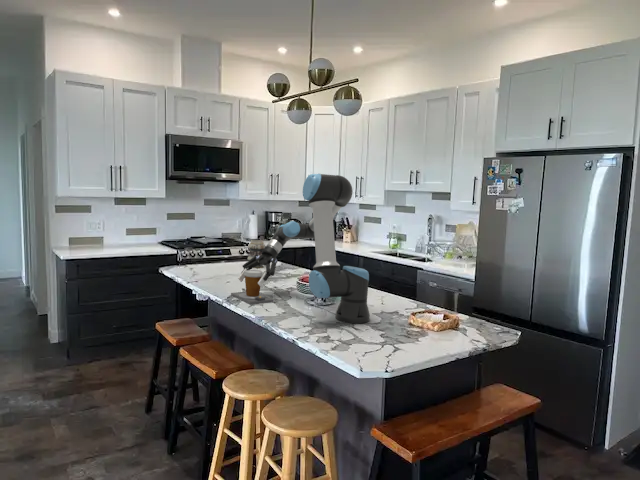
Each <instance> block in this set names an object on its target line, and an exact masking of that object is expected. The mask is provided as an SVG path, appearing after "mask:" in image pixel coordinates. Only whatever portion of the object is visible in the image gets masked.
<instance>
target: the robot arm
mask: <svg viewBox="0 0 640 480" xmlns="http://www.w3.org/2000/svg"><path fill="white" fill-rule="evenodd" d="M302 196H303V199H304V200H305V201H308V207H310V208H311V210H312V219H311V220H310V221H309V222H308V223H299V222H296V221H294V220H291V221H288V222H287V223H285V224H281V225H279V227H278V228H277V230H276V231H275V233H274V234H273V236H272V237H271V238H270V239H269V241H268V242H267V244H265V246H266V247H265V248H264V249H263V251H262V255H260V256H259V255H258V254H256V255H255V256H254V257H253V258H252V259H251V260H249V261H248V260H247V262H245V263H244V264H242V268H243V270H242V271H241V273H240V275H239V276H238V277H237V279H238V280H239V281H240V282H241V283H242V282H243V281H244V280H245V275H244V273H245V271H246V270H253V269H255V268H254V267H256V266H258V265H262V266H264V267H265V272H263V276H262V277H261V279H260V280H259V282H258V284H259V286H260V288H261V287H263V284H264V283H266V281H267V280H268V279H269V277H271V276H275V272H276V268H277V267H276V266H277V264H278V259H277V256H278V255H279V253H281V250H282V249H283V248H284V247H285V244H286V243H287V242H288V241H290V240H292V239H312V240H314V247H315V248H314V249H315V250H314V251H315V262H316V263H315V264H314V265H313V266H312V269H313V270H311V271H310V272H309V275H308V276H309V277H308V286H309V289H310V291H311V293H312V294H313V295H314V297H316V298H319V299H322V298H323V299H328V298H340V301H339V304H338V306H337V309H336V312H335V319H336V320H337V321H340V322H343V323H348V324H365V323H368V322H370V318H371V316H370V311H369V306H368V293H369V281H370V274H369V271H368V270H366V269H365V268H361V267H356V266H351V265H343V266H342V269H341V265H340V264H339V263H338V261H337V258H336V257H337V256H336V245H335V243H336V242H335V240H336V239H335V227H334V217H335V215H336V214H337V213H338V212H339V211H340V210H341V208H344V207H346V206H347V205H348V204H349V203H350V201H351V199H352V197H353V187H352V184H351V182H350V181H349V180H348V178H346V177H345V176H342V175H338V174H326V173H325V174H324V173H312V174H311V173H310V174H308V175H307V177H306V178H305V180H304V182H303V185H302ZM258 261H259V262H258Z"/></svg>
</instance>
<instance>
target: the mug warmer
mask: <svg viewBox="0 0 640 480" xmlns="http://www.w3.org/2000/svg"><path fill="white" fill-rule="evenodd" d="M230 295H231V296H232V297H234V298H236V299H238V300H240V301H242V302H244V303H246V304H248V305H250V306H251V305H258V304H260V305H261V304H266V303H267V304H268V303H275V300H274V298H271V297H269V296H267V295H265V294H264V293H262V292H260V293H259V296H256V297H251V296H247V295H246V291H238V292H237V291H236V292H235V291H234V292H230Z"/></svg>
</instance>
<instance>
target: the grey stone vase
mask: <svg viewBox="0 0 640 480" xmlns="http://www.w3.org/2000/svg"><path fill="white" fill-rule="evenodd" d="M247 247H248V249H249V255H248V257H247V262H248V261H249V260H251V259H252V258H253V257H254V256H255V255H256V254H258V255H259V256H260V255H262V251H263V249H264V248H265V247H266V244H265V243H264V240H259V239H257V240H256V239H251V240H250V243H249V244H248V246H247ZM258 262H259V261H258ZM262 268H264V265H258V266H256V267H254V268H253V269H262Z"/></svg>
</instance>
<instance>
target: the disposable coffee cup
mask: <svg viewBox="0 0 640 480" xmlns="http://www.w3.org/2000/svg"><path fill="white" fill-rule="evenodd" d="M244 275H245V278H244V281H245V292H246V295H247V296H251V297H256V296H259V293H261V287H260V286H259V284H258V282H259V280H260V279H261V277H262V276H263V275H264V272H263V271H262V270H259V269H250V270H246V271H245V273H244Z"/></svg>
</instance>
